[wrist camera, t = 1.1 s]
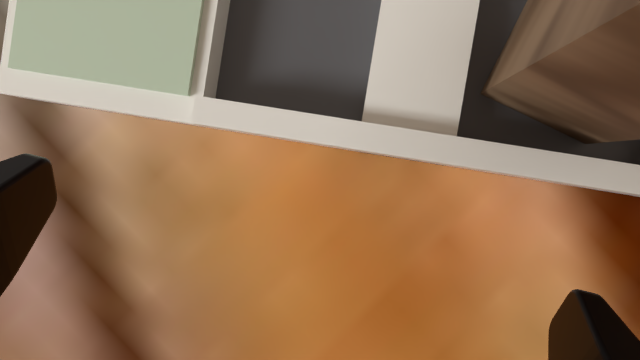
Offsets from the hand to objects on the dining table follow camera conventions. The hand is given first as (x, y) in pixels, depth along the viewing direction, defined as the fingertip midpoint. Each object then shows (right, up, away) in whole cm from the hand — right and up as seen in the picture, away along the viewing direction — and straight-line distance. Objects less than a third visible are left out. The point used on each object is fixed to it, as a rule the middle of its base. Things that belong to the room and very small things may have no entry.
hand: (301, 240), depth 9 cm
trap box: (+2, +7, +13) cm, 15 cm away
